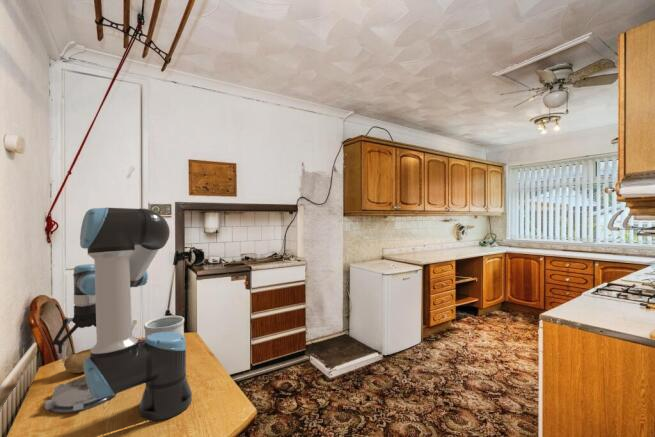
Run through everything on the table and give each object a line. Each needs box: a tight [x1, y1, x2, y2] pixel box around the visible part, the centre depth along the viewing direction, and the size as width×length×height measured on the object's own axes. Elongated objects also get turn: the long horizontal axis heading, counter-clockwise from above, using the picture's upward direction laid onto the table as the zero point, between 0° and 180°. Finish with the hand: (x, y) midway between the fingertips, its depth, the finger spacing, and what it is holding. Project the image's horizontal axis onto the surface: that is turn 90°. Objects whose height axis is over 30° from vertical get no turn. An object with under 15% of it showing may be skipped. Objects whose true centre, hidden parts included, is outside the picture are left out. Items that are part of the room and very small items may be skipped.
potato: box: [63, 347, 93, 374], centre depth 121 cm, size 10×14×8 cm
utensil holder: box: [143, 315, 185, 340], centre depth 127 cm, size 15×15×18 cm
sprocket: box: [44, 376, 116, 411], centre depth 104 cm, size 21×20×7 cm
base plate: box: [49, 394, 117, 415], centre depth 104 cm, size 19×19×1 cm
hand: (86, 356), depth 121 cm, fingers open, 13 cm apart
